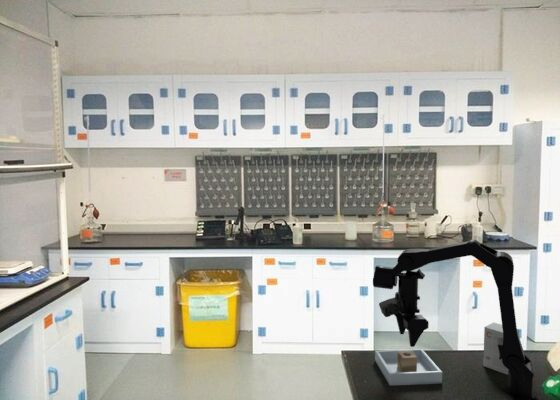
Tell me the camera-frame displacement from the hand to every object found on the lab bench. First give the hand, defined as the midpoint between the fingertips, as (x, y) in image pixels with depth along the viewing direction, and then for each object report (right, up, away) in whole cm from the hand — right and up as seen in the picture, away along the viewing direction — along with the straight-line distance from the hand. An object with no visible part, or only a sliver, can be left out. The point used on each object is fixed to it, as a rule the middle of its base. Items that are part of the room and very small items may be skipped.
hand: (406, 340), depth 136 cm
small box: (+30, -10, +3) cm, 32 cm away
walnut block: (0, -10, +1) cm, 10 cm away
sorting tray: (0, -10, +1) cm, 10 cm away
